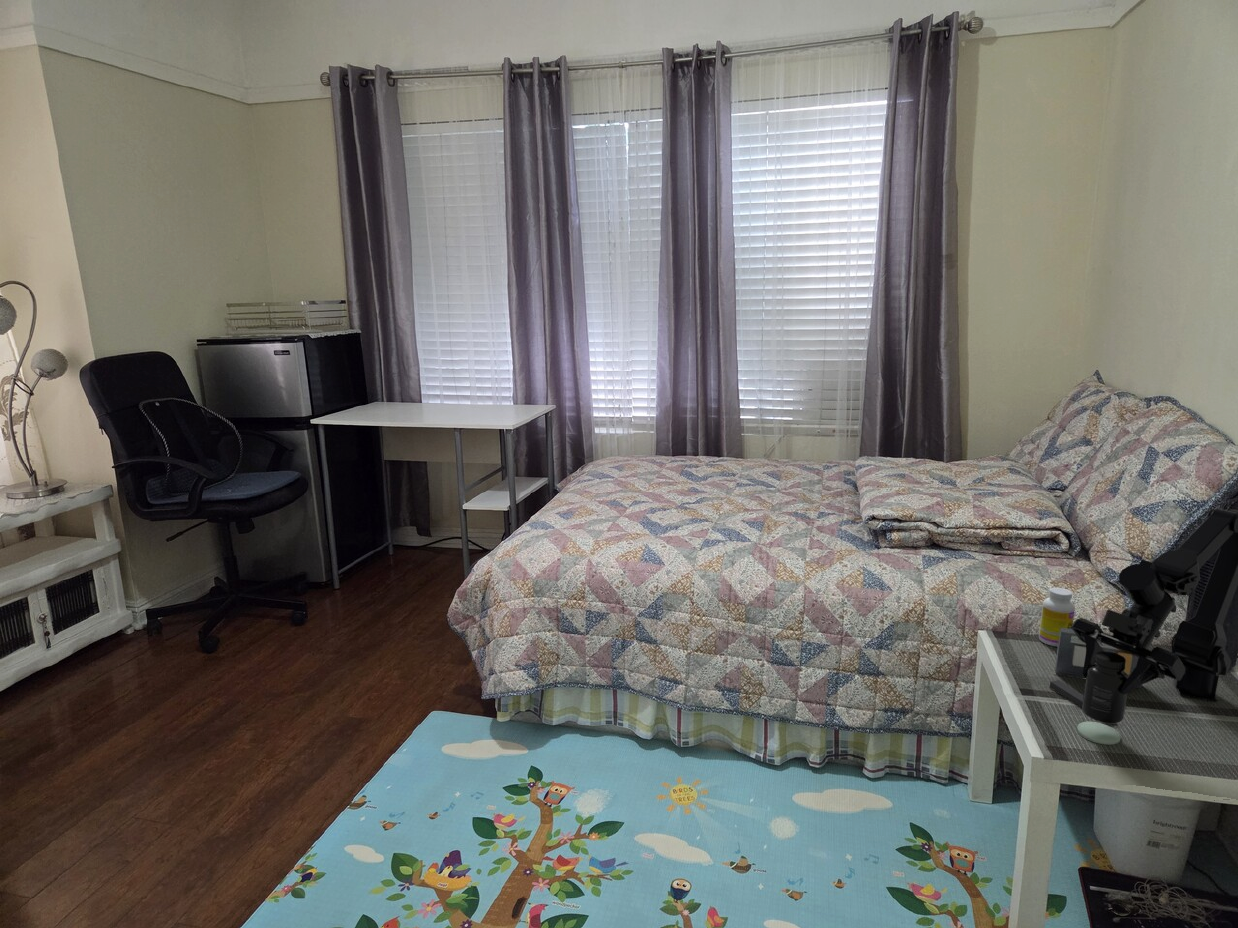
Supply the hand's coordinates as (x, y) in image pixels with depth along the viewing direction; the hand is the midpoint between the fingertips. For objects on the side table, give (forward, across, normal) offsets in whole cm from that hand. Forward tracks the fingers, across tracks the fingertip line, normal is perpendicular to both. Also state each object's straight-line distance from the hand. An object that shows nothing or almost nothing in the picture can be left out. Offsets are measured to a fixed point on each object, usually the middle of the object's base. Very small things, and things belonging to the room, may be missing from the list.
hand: (1102, 684), depth 150 cm
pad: (+7, 0, +8) cm, 11 cm away
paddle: (-7, -15, +18) cm, 24 cm away
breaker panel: (-8, -13, +23) cm, 28 cm away
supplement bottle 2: (+4, 0, +6) cm, 7 cm away
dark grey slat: (+2, -9, +14) cm, 17 cm away
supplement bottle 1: (-14, -29, +30) cm, 44 cm away
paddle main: (-11, -9, +21) cm, 25 cm away
